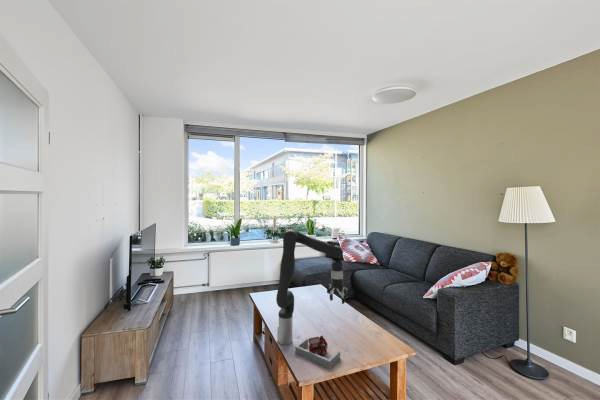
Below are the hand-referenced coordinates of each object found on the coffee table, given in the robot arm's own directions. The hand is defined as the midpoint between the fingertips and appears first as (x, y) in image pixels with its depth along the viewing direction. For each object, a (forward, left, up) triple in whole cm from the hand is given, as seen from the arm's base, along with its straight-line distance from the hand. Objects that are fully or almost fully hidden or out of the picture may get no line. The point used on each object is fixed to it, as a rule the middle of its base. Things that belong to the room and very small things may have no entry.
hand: (337, 301), depth 178 cm
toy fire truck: (-5, -15, -29) cm, 33 cm away
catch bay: (-4, -16, -29) cm, 33 cm away
